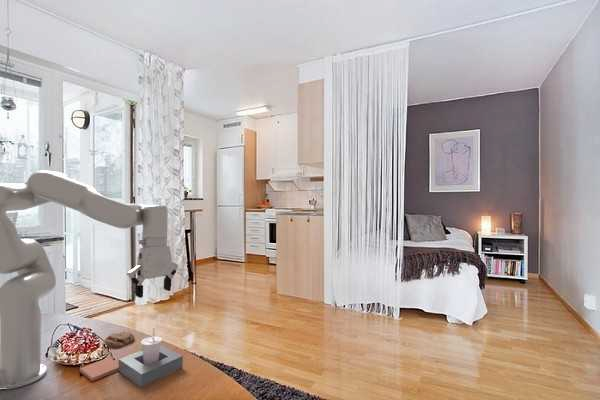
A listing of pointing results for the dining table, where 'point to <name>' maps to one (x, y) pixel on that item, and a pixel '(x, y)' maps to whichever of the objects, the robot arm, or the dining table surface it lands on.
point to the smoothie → (151, 349)
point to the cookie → (119, 339)
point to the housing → (149, 366)
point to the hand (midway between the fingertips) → (153, 293)
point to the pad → (100, 369)
